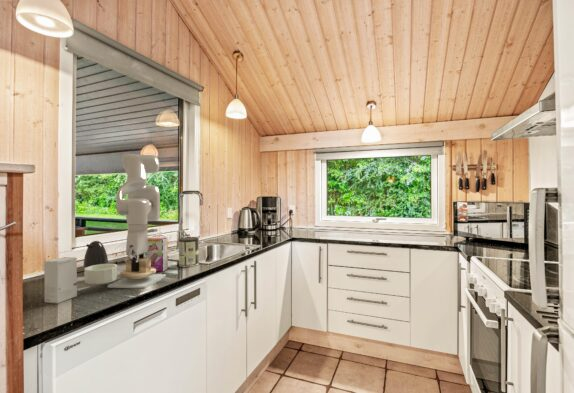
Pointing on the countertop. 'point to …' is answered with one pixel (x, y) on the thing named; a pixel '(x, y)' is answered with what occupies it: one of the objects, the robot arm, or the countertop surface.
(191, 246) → the coffee can
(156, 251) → the candy bar box
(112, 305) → the countertop surface
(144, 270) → the lid
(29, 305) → the countertop surface
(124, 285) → the mat
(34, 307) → the countertop surface
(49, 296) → the skincare box
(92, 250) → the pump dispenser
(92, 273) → the bowl
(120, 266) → the countertop surface
